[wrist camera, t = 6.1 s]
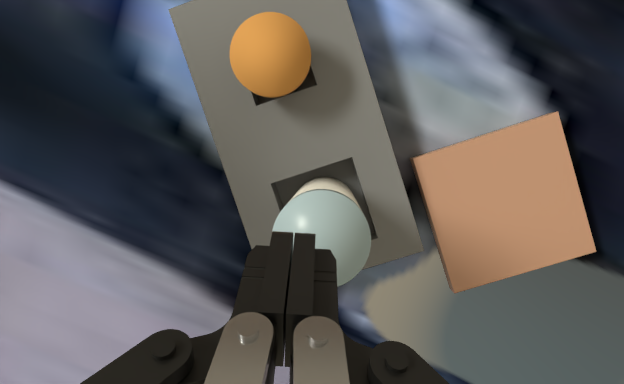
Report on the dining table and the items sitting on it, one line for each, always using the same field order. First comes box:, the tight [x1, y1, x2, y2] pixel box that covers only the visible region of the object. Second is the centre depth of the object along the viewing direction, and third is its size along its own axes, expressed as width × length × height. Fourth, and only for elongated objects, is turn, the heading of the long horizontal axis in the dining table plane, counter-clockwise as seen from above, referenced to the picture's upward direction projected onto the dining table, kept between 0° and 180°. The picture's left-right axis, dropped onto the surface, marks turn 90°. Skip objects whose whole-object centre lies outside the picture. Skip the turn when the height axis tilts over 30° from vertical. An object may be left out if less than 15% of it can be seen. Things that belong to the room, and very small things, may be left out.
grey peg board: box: [169, 0, 424, 270], centre depth 30 cm, size 12×22×3 cm, turn 18°
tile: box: [410, 112, 596, 293], centre depth 30 cm, size 11×11×1 cm
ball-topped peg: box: [272, 176, 371, 287], centre depth 25 cm, size 5×5×12 cm
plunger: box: [230, 12, 311, 98], centre depth 27 cm, size 5×5×4 cm
